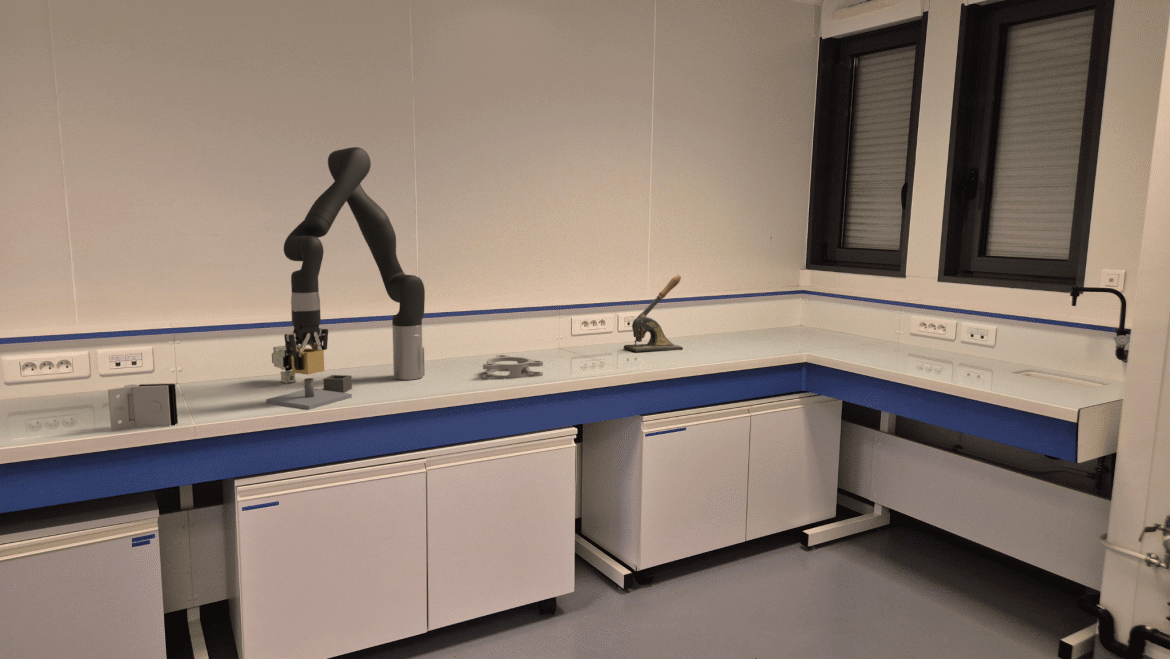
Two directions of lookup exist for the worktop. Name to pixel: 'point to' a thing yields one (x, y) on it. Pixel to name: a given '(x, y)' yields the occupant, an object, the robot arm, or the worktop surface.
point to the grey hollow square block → (338, 383)
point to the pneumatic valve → (283, 363)
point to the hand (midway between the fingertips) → (308, 367)
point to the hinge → (143, 406)
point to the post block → (309, 397)
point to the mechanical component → (511, 367)
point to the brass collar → (310, 361)
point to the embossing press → (652, 326)
